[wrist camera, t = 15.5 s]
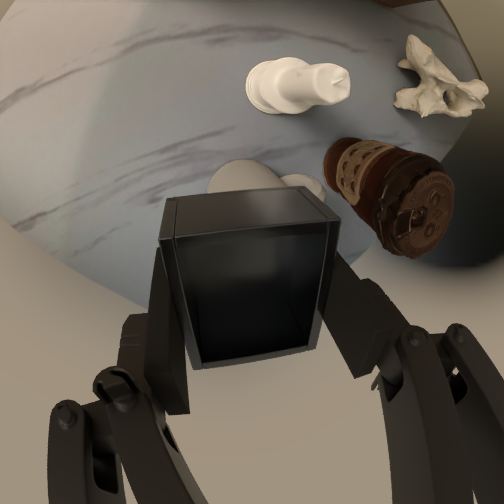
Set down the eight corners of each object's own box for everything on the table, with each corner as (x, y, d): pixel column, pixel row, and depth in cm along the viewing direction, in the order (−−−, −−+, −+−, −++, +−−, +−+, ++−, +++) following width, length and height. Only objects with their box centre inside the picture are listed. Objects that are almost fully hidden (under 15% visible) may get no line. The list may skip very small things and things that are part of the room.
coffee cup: (295, 178, 27) (364, 241, 16) (335, 111, 24) (430, 135, 13) (352, 212, 31) (422, 277, 20) (388, 155, 27) (473, 198, 17)
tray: (189, 318, 15) (193, 370, 12) (166, 197, 11) (157, 238, 8) (294, 303, 16) (316, 349, 13) (304, 185, 12) (342, 218, 9)
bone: (378, 45, 21) (422, 28, 14) (454, 59, 21) (496, 55, 14) (394, 117, 25) (442, 118, 17) (465, 119, 25) (508, 124, 18)
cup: (193, 175, 25) (195, 213, 17) (291, 137, 25) (334, 158, 17) (222, 236, 29) (235, 290, 21) (309, 200, 29) (350, 241, 21)
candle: (273, 50, 20) (336, 20, 10) (312, 88, 22) (392, 92, 12) (232, 87, 21) (268, 77, 11) (274, 125, 24) (336, 149, 14)
